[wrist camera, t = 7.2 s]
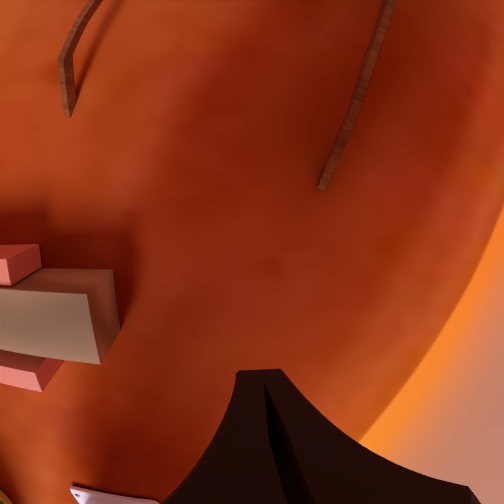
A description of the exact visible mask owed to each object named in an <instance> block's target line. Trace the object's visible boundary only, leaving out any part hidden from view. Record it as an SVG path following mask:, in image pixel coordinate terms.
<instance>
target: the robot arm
mask: <svg viewBox="0 0 504 504" xmlns="http://www.w3.org/2000/svg"><path fill="white" fill-rule="evenodd" d="M70 491H71V492H72V494H73V495H74V497H75V498H76V500H77V501H78V502H79V504H159V503H158V502H157V501H155V500H148V499H140V498H132V497H125V496H119V495H113V494H108V493H102V492H97V491H92V490H88V489H83V488H79V487H75V486H71V488H70ZM162 504H481V503H480V502H479V500H478V499H477V497H476V496H475V495H474V493H473V492H472V491H471V489H470V488H469V487H468V486H464V485H459V484H455V483H451V482H447V481H443V480H438V479H435V478H431V477H428V476H425V475H422V474H420V473H417V472H414V471H412V470H409V469H407V468H404V467H402V466H400V465H397V464H395V463H393V462H391V461H389V460H387V459H385V458H383V457H381V456H379V455H377V454H376V453H374V452H372V451H370V450H369V449H367V448H365V447H363V446H362V445H361V444H359V443H358V442H356V441H355V440H353V439H352V438H350V437H349V436H348V435H346V434H345V433H344V432H342V431H341V430H340V429H339V428H337V427H336V426H335V425H334V424H333V423H331V422H330V421H329V420H328V419H327V418H326V417H325V416H323V415H322V414H321V413H320V412H319V411H318V410H317V409H316V408H315V407H314V406H313V405H312V404H311V403H310V402H309V401H308V400H307V399H306V398H305V397H304V396H303V394H302V393H301V392H300V391H299V390H298V389H297V388H296V387H295V385H294V384H293V383H292V382H291V381H290V379H289V378H288V377H287V376H286V374H285V373H284V372H283V371H282V370H281V369H265V370H241V371H238V372H237V373H236V381H235V386H234V390H233V394H232V397H231V400H230V403H229V405H228V408H227V410H226V413H225V415H224V418H223V420H222V422H221V424H220V426H219V428H218V430H217V432H216V434H215V436H214V437H213V439H212V441H211V443H210V444H209V446H208V447H207V449H206V451H205V452H204V454H203V455H202V457H201V458H200V460H199V461H198V462H197V464H196V465H195V466H194V468H193V469H192V470H191V472H190V473H189V474H188V476H187V477H186V478H185V479H184V480H183V482H182V483H181V484H180V485H179V486H178V487H177V488H176V489H175V491H174V492H173V493H172V494H171V495H170V496H169V497H168V498H167V499H166V500H165V501H164V502H163V503H162Z"/></svg>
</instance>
